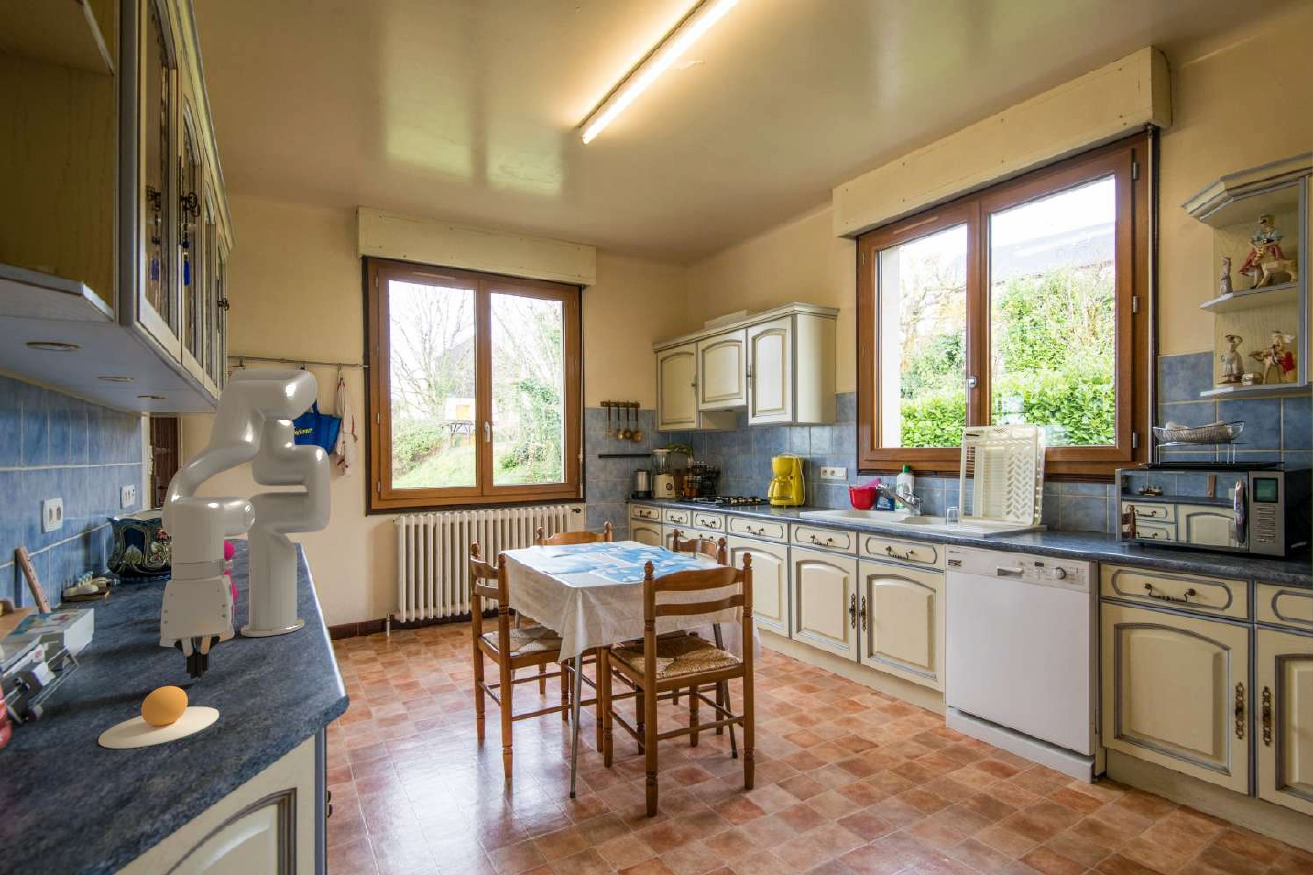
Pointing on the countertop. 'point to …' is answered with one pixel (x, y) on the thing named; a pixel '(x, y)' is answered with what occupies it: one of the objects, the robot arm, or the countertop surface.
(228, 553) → the pepper mill
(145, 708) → the ball
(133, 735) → the disc
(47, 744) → the countertop surface
